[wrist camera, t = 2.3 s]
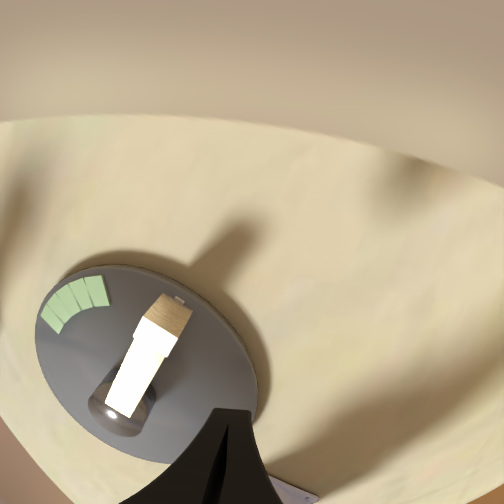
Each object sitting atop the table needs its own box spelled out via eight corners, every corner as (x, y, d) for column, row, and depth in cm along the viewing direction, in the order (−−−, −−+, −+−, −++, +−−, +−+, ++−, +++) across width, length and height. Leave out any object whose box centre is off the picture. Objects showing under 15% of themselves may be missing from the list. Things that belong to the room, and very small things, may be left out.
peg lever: (145, 418, 20) (130, 448, 17) (100, 390, 20) (80, 418, 17) (209, 318, 18) (196, 348, 15) (149, 282, 18) (125, 305, 14)
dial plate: (312, 383, 20) (313, 393, 19) (171, 477, 24) (168, 485, 23) (101, 206, 18) (91, 208, 17) (22, 361, 22) (14, 367, 21)
